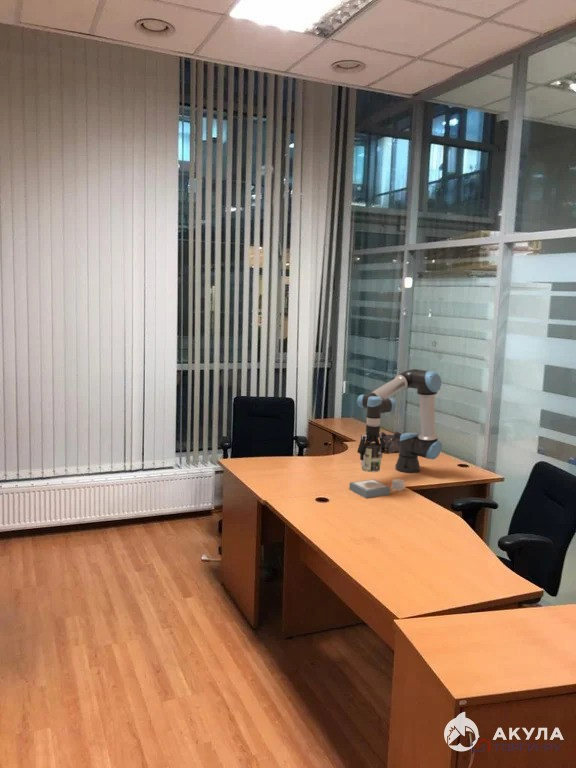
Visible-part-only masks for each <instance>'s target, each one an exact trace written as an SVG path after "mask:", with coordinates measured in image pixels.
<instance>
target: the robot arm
mask: <svg viewBox="0 0 576 768" xmlns="http://www.w3.org/2000/svg"><path fill="white" fill-rule="evenodd" d="M441 387H442V379H441V376H440V375H439V373H438V372H436V371H432V370H425V369H424V370H423V369H418V368H412V369H411V368H410V369H408V370H405V371H402V372H400V373H398V374H397V375H395V377H394V378H393V379H392V380H390V381H388V382H387V383H384V384H383V385H381V386H380V387H378V388H376V389H374V390H373V391H371V392H370V393H367V394H360V395H358V397H357V398H356V399H357V400H356V403H357V405H358V407H359V408H362V409H366V422H365V423H366V425H365V432H366V433H365V435H360V441H359V444H358V448H357V453H358V454H359V455H360V457H359V460H360V466H361V467H362V466H365V454H364V453H365V451H366V447H364V445H365V446H369V444H370V443H375V444H377V445H380V444H381V459H380V465H382V459H383V453H385V452H386V451H387V449H386V448H385V443H384V434H381V433H382V432H381V426H380V425H381V415H382V414H385V413H391V412H393V411H395V409H396V408H397V403H396V400H395V399H394V398H390V397H392V396H393V395H395V394H396V393H398V392H399V391H404V390H407V389H415V390H416V394H417V395H418V396H419V420H420V421H419V423H420V424H419V425H420V426H419V427H420V428H419V429H420V431H419V433H418V432H405V433H401V436H400V445H399V450H398V458H397V460H396V463H395V466H394V467H395V470H396V471H398V472H401V473H402V472H403V473H407V474H409V473H410V474H412V473H413V474H414V473H418V472H421V471H420V470H421V466H420V461H419V457H421V458H424V459H429V460H435V459H437V458H438V457H439V456H440V454H441V451H442V448H443V444H442V443H441V441H439V440H438V439H439V438H438V435H437V434H436V419H435V418H436V417H435V415H436V410H435V409H436V407H435V405H436V404H435V396H436V395H437V394H438V392H439V391H440V390H441ZM364 443H365V444H364Z"/></svg>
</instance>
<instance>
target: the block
mask: <svg viewBox="0 0 576 768" xmlns="http://www.w3.org/2000/svg"><path fill="white" fill-rule="evenodd" d="M391 490H394V491H397V492H401V491H404V490H405V480H404V479H399V478H396V479H395V478H394V479H393V480H391Z"/></svg>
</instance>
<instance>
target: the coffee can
mask: <svg viewBox="0 0 576 768" xmlns="http://www.w3.org/2000/svg"><path fill="white" fill-rule="evenodd" d="M364 444H365V443H364ZM364 447H366V451H365V453H364V454H365V466H362V465H361V468H360V470H361V471H364V472H366V473H378V472H380V471H381V464H380V459H381V460H382V458H381V444H380V445H377V444H375V442H371V443H370V444H369V446H365V445H364Z"/></svg>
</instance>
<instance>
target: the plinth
mask: <svg viewBox="0 0 576 768" xmlns="http://www.w3.org/2000/svg"><path fill="white" fill-rule="evenodd" d="M348 490H350V491H352V492H354V493H355V494H357V495H358V496H360V497H363V498H364V499H371V498H377V496H378V497H383V495H384V496H388V495H389V496H390V495H391V486H388V485H386V484H384V483H382V482H380V481H379V480H375V479H373V478H371V479H366V480H359V481H358V480H357V481H350V482H349V488H348Z"/></svg>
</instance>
